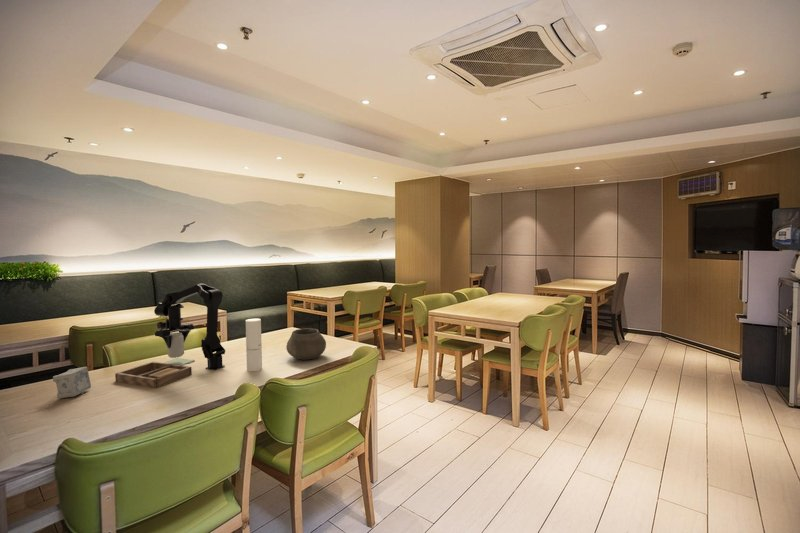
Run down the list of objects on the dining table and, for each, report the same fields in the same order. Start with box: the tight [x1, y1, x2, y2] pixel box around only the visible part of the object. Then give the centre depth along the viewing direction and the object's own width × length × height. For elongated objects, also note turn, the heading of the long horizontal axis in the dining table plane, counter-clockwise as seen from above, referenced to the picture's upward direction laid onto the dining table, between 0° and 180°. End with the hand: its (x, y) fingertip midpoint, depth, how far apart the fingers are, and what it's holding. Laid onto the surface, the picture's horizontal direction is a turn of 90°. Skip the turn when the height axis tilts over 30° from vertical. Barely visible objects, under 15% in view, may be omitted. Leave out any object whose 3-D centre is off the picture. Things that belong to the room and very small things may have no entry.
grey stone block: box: [52, 366, 92, 400], centre depth 161 cm, size 10×8×10 cm
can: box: [166, 332, 185, 359], centre depth 201 cm, size 8×8×12 cm
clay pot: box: [285, 327, 327, 361], centre depth 211 cm, size 22×21×15 cm
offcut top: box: [148, 368, 180, 379], centre depth 178 cm, size 7×10×2 cm, turn 162°
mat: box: [163, 357, 195, 366], centre depth 202 cm, size 12×12×1 cm
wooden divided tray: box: [114, 361, 192, 389], centre depth 180 cm, size 25×18×4 cm
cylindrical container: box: [245, 317, 263, 372], centre depth 192 cm, size 7×7×25 cm
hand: (175, 346), depth 201 cm, fingers closed on can, 7 cm apart
